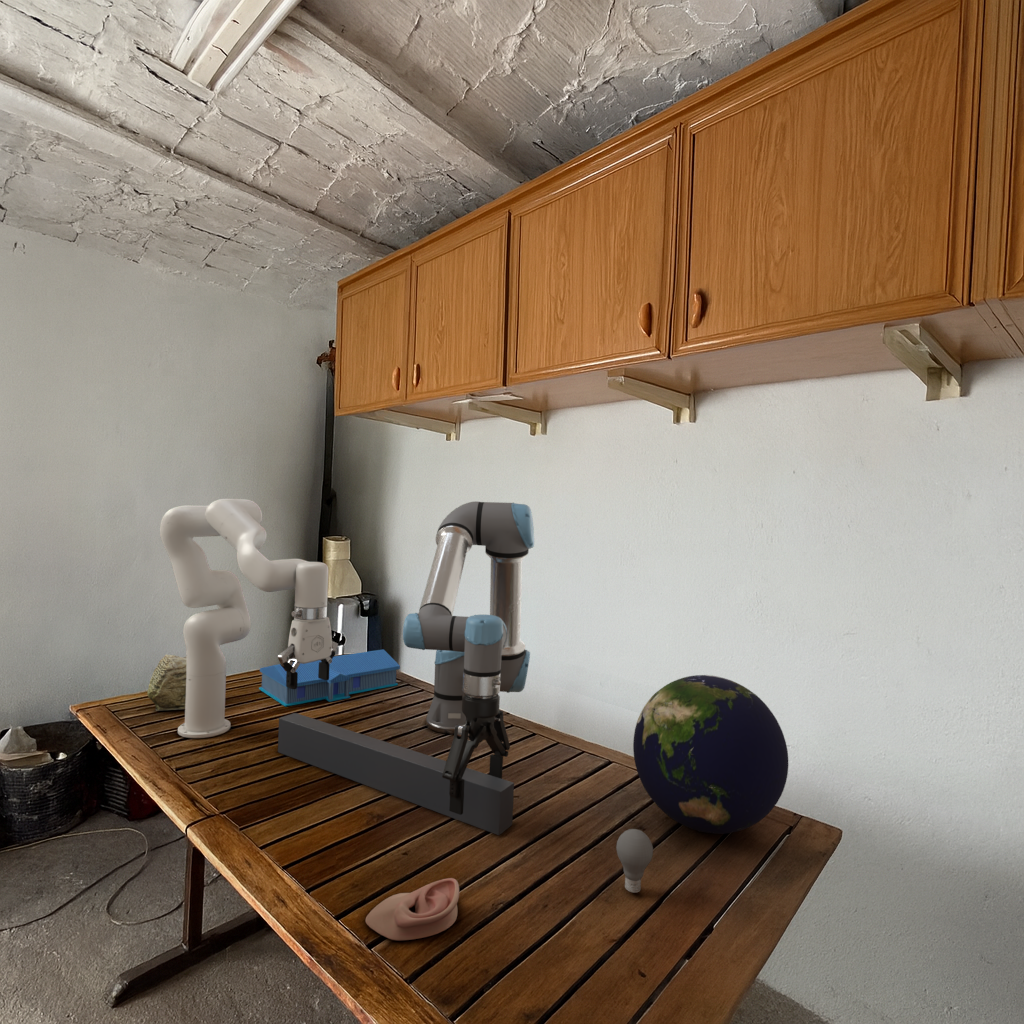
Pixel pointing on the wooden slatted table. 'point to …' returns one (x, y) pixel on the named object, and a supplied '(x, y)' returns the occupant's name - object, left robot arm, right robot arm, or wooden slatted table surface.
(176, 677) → the fossil
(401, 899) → the anatomical model
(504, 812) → the post
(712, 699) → the globe
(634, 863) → the light bulb
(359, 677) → the model building
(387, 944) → the wooden slatted table surface
